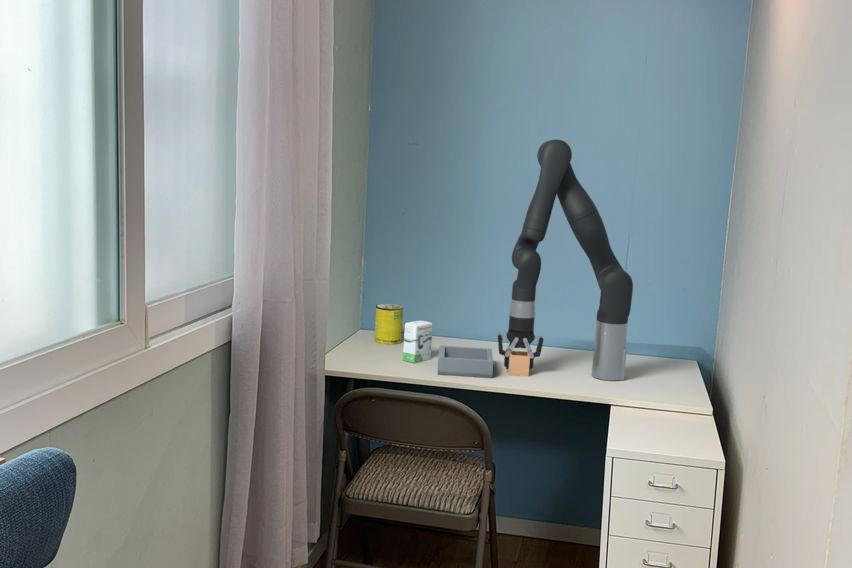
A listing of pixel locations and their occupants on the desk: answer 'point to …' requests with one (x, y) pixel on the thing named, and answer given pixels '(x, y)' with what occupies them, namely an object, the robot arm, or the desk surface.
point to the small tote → (519, 363)
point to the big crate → (465, 361)
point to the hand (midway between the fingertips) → (518, 368)
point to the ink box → (417, 341)
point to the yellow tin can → (388, 324)
